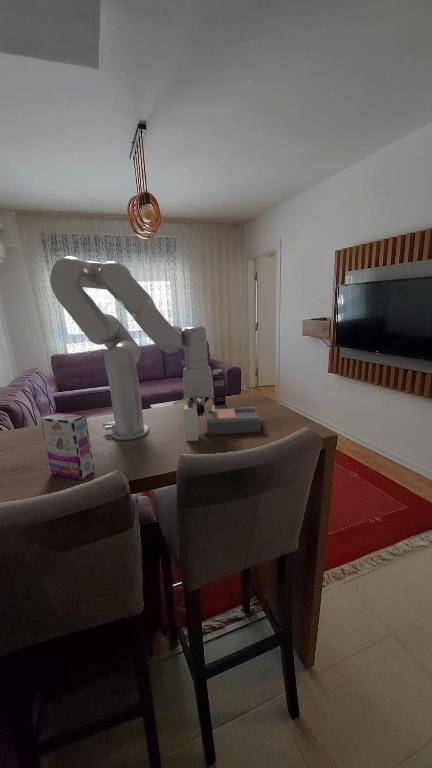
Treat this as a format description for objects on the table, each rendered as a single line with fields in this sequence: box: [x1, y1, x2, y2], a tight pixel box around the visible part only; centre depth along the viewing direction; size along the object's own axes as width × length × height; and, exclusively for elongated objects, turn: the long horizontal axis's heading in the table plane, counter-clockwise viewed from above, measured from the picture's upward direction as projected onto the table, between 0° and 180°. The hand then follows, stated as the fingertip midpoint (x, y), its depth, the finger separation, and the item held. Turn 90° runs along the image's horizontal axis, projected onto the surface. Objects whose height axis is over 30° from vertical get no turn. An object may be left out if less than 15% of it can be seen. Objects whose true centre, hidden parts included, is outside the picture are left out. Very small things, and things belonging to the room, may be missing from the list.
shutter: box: [211, 404, 236, 419], centre depth 111 cm, size 8×8×3 cm
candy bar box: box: [40, 412, 95, 480], centre depth 85 cm, size 11×5×16 cm, turn 69°
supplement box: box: [211, 368, 227, 409], centre depth 129 cm, size 9×5×16 cm, turn 6°
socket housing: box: [206, 406, 262, 435], centre depth 112 cm, size 18×11×5 cm, turn 92°
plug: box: [183, 400, 200, 442], centre depth 103 cm, size 4×4×13 cm
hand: (200, 414), depth 111 cm, fingers closed
